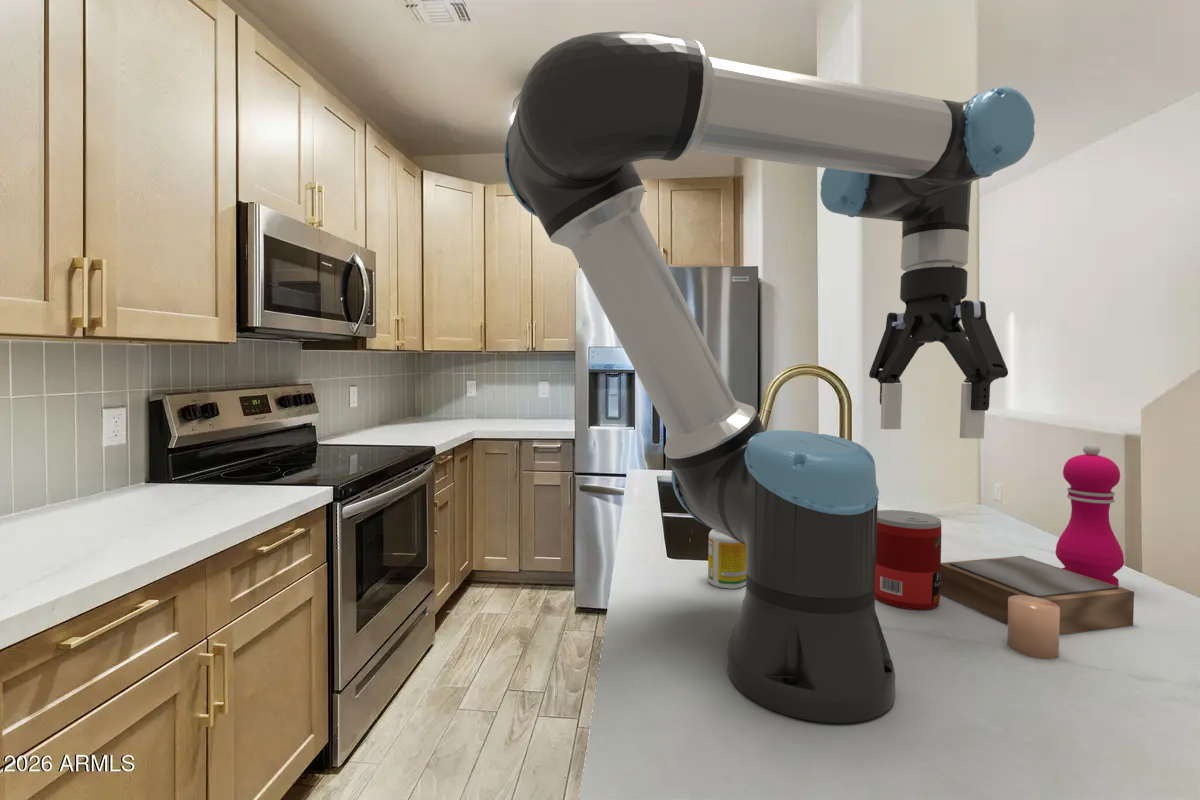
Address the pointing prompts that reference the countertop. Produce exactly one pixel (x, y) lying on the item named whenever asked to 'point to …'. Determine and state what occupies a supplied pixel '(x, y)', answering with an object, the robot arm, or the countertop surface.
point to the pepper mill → (1090, 518)
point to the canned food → (908, 559)
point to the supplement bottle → (726, 561)
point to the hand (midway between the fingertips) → (927, 433)
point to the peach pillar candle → (1033, 626)
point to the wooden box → (1037, 591)
